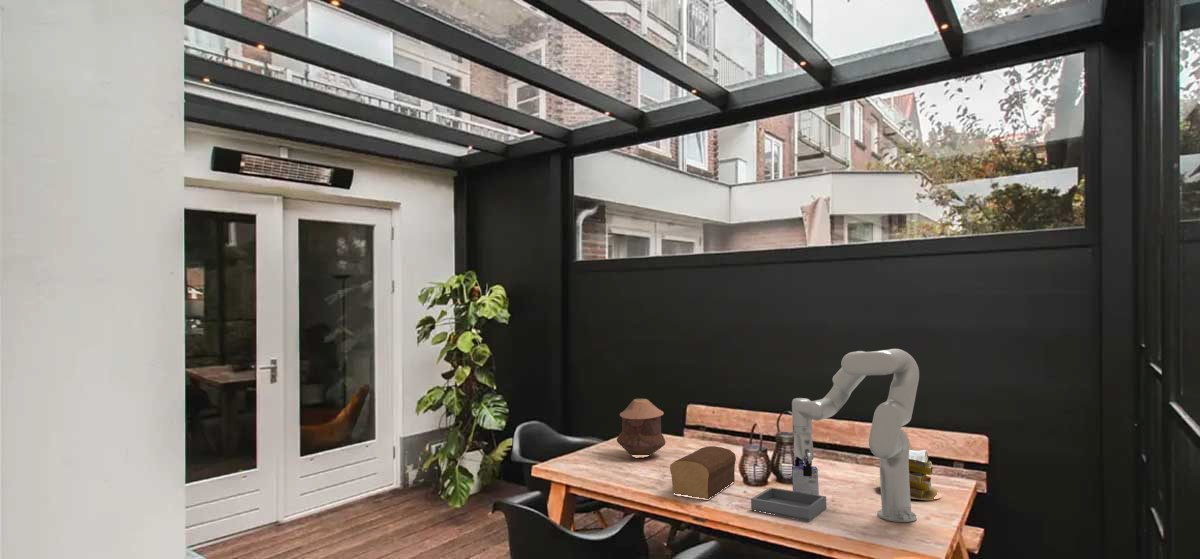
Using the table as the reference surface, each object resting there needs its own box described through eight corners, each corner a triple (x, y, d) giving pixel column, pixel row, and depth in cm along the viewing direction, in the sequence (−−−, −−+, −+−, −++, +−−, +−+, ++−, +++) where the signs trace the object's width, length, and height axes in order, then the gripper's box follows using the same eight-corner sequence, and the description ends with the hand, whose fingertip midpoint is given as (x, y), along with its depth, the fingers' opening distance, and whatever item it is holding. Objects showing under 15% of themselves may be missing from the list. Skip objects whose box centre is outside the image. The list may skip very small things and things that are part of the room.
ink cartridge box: (817, 496, 247) (816, 460, 248) (820, 501, 242) (818, 463, 243) (792, 496, 249) (790, 459, 250) (793, 500, 244) (792, 463, 244)
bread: (669, 496, 254) (668, 456, 255) (699, 478, 279) (698, 442, 280) (710, 502, 244) (709, 461, 245) (737, 483, 269) (736, 446, 270)
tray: (826, 508, 232) (825, 496, 233) (808, 521, 218) (808, 509, 219) (771, 498, 246) (770, 487, 246) (751, 510, 232) (750, 498, 232)
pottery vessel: (642, 449, 342) (640, 394, 344) (676, 456, 323) (674, 398, 325) (607, 457, 326) (605, 399, 327) (641, 465, 306) (639, 404, 308)
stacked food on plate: (951, 491, 250) (948, 449, 251) (932, 505, 232) (929, 460, 233) (887, 480, 267) (885, 441, 268) (865, 493, 249) (863, 452, 250)
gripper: (819, 434, 238) (820, 478, 238) (804, 425, 256) (805, 466, 255) (800, 434, 238) (801, 479, 238) (786, 425, 256) (787, 467, 255)
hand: (803, 472), depth 246 cm, fingers open, 9 cm apart
